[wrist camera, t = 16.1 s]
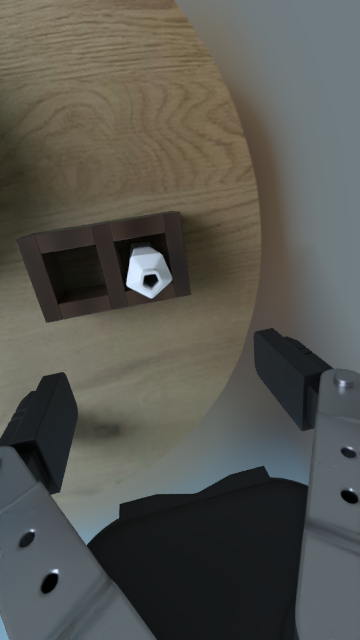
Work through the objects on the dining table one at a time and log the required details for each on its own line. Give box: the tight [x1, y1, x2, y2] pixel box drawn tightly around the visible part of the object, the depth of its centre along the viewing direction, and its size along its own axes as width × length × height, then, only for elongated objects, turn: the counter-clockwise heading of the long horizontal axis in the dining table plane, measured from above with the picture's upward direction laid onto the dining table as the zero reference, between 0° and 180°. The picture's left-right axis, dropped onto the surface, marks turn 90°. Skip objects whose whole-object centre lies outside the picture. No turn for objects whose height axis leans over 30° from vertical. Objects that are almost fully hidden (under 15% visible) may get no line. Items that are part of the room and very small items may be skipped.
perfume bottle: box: [126, 242, 172, 298], centre depth 32 cm, size 5×4×15 cm
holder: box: [16, 211, 191, 323], centre depth 36 cm, size 18×10×6 cm, turn 98°
